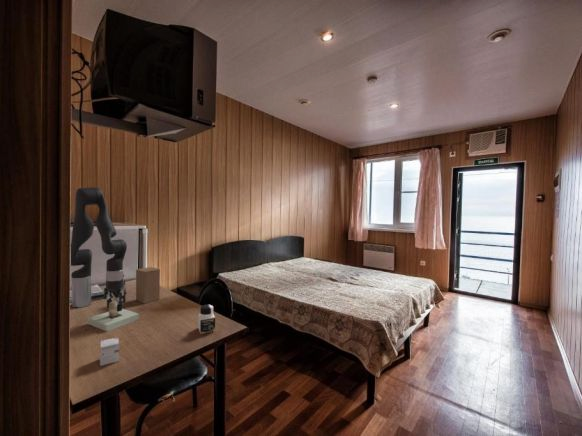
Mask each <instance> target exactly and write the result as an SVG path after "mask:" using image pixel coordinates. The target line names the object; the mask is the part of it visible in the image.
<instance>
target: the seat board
mask: <svg viewBox="0 0 582 436" xmlns="http://www.w3.org/2000/svg"><path fill="white" fill-rule="evenodd" d="M139 317H140V314H139V313H137V312H135V311H131V310H128V309H126V308H125V309H124V308H122V311H119V316H118V317H116V318H114V319H110V317H109V311H107V312H106V311H105V312H104V313H100V314H97V315H94V316H91V317H88V318H87V325H90V326H91V325H92V327H95V328H96V329H99V330H101V331H105V332H110V331H113V330H115V329H117V328H119V327H120V328H121V327H122V326H126V325H127V324H131V323H134V322H136V321H138V320H140V318H139Z"/></svg>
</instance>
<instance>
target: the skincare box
mask: <svg viewBox="0 0 582 436" xmlns="http://www.w3.org/2000/svg"><path fill="white" fill-rule="evenodd" d="M99 348H100V349H99V366H102V367H103V366H105V365H110V364H114V363H117V362H119V361H120V358H119V357H120V355H119V354H120V353H119V352H120V343H119V336H117V337H114V338H113V337H112V338H108V339H104V340H100V343H99Z"/></svg>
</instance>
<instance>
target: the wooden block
mask: <svg viewBox="0 0 582 436" xmlns="http://www.w3.org/2000/svg"><path fill="white" fill-rule="evenodd" d="M160 270H161V269H160V268H156V267H155V266H154V267H153V266H149V267H144V268H143V267H142V268H137V269H136V273H135V278H136V279H135V280H136V281H135V286H136V287H135V301H137V302H140V303H141V304H144V305H145V304H149V303H151V302H155V301H159V300H160V294H161V293H160V289H161V286H160V284H161V283H160V281H161V280H160V279H161V271H160Z"/></svg>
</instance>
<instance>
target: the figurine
mask: <svg viewBox="0 0 582 436" xmlns="http://www.w3.org/2000/svg"><path fill="white" fill-rule="evenodd" d="M124 277H125V275H124V273H123V278H124ZM126 285H127V284H126V280H125V279H123V287H122V288H121V291H122V292H123V291H125V295H127V287H126Z"/></svg>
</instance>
